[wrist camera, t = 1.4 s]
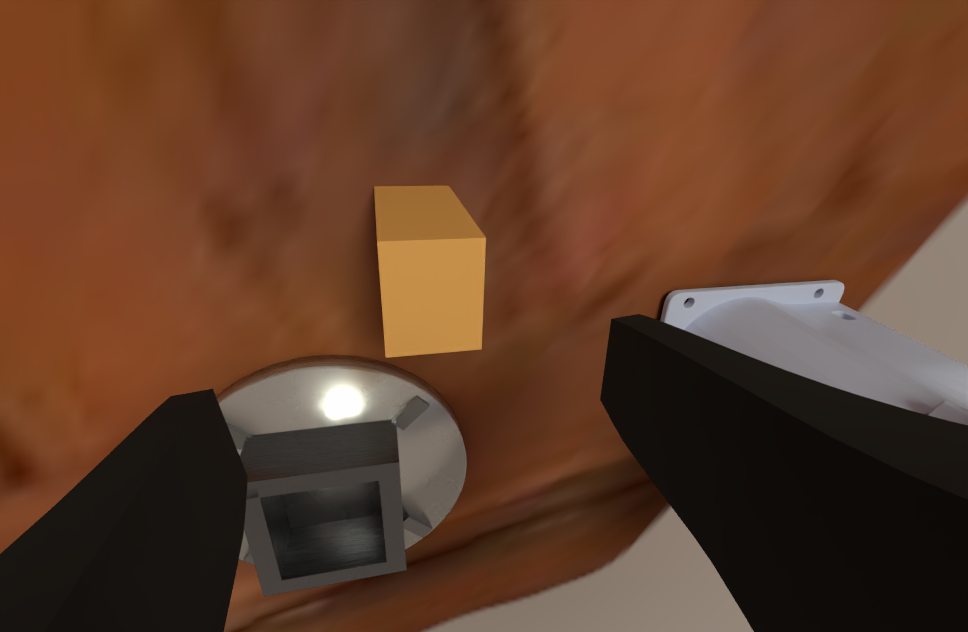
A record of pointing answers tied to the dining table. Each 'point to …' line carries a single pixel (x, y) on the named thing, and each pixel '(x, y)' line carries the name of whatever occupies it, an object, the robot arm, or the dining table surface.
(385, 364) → the square-hole metal disc
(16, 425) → the dining table surface
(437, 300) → the orange square peg
